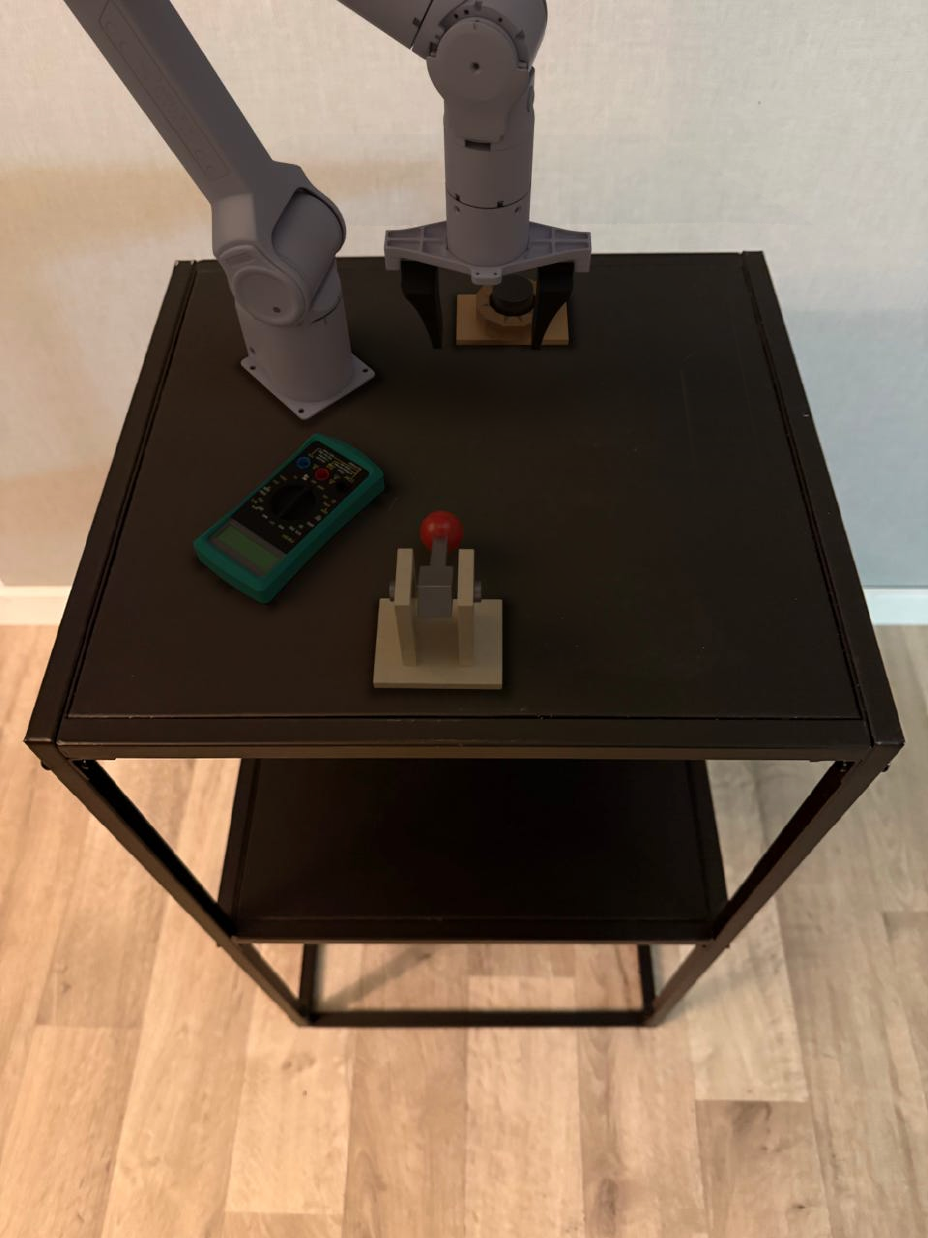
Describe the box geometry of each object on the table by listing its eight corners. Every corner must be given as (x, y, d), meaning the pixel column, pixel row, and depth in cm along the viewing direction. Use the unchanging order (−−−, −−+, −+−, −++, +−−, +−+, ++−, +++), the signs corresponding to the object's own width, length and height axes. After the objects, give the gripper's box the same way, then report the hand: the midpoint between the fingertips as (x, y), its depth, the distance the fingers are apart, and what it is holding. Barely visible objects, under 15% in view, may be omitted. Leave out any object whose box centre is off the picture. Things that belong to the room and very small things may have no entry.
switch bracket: (381, 606, 70) (368, 531, 62) (501, 607, 70) (504, 532, 62) (374, 690, 67) (360, 622, 59) (502, 691, 66) (505, 623, 58)
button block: (456, 347, 84) (455, 325, 82) (457, 298, 88) (457, 276, 86) (568, 347, 84) (570, 325, 82) (565, 298, 88) (567, 275, 85)
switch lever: (422, 542, 72) (421, 503, 70) (464, 542, 72) (464, 503, 70) (410, 623, 61) (409, 580, 60) (459, 623, 61) (459, 580, 60)
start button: (492, 317, 83) (492, 301, 82) (492, 290, 85) (492, 273, 84) (533, 317, 83) (534, 301, 82) (532, 289, 85) (533, 273, 84)
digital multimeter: (392, 487, 76) (389, 462, 74) (265, 611, 70) (257, 590, 68) (324, 446, 79) (319, 421, 76) (196, 563, 72) (185, 540, 70)
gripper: (373, 219, 60) (390, 376, 72) (600, 221, 60) (580, 378, 72) (382, 153, 64) (397, 312, 76) (596, 155, 64) (578, 315, 75)
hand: (486, 340), depth 74 cm, fingers open, 7 cm apart
